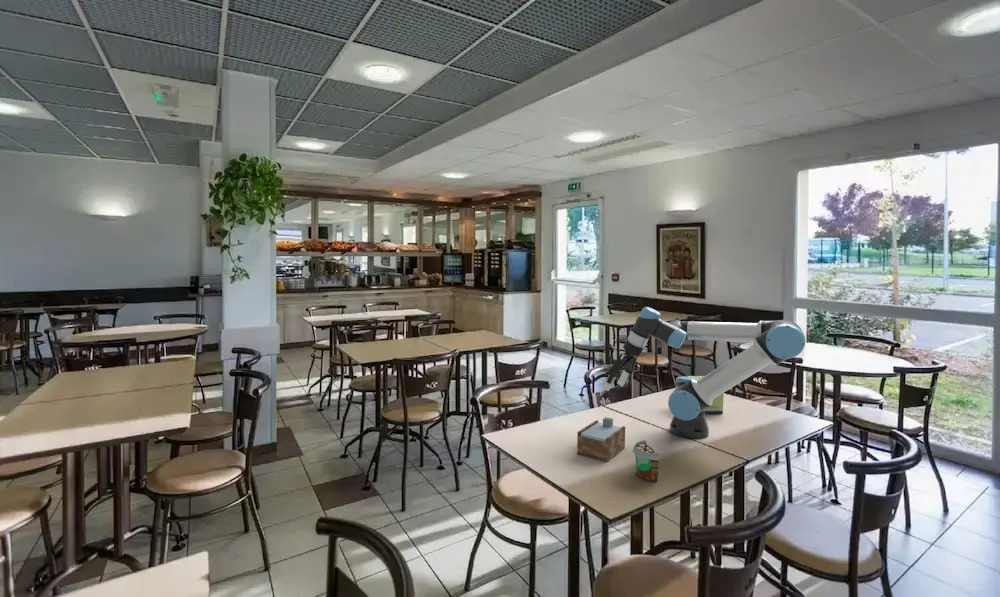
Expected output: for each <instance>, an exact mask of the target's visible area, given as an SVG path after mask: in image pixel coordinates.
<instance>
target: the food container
mask: <svg viewBox="0 0 1000 597" xmlns="http://www.w3.org/2000/svg"><path fill="white" fill-rule="evenodd" d="M632 452H633V453H634V455H635V458H634V459H635V474H636V477H637V478H639V479H640V480H642V481H645V482H651V483H657V482H658V474H659V462H660V461H661V460H660V459H661V458H660V453H656V452H655V451H654V449H653V448H652V447H651V446H649V445H648V444H647V440H646V439H645V440H639V441H637V442H636V443H635V444H634V445H633V450H632Z"/></svg>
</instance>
